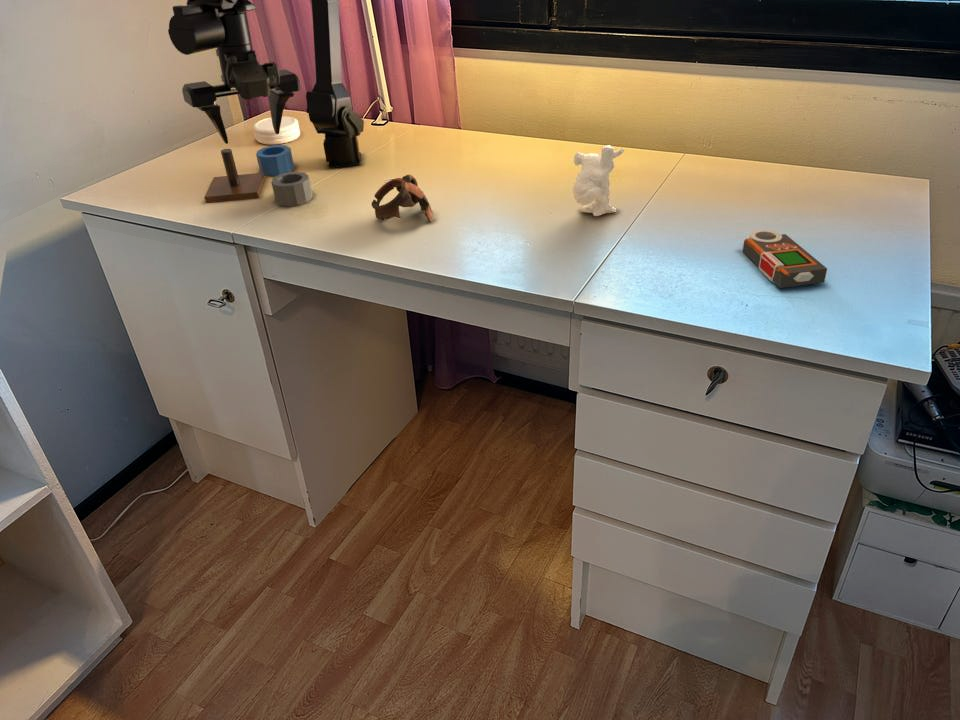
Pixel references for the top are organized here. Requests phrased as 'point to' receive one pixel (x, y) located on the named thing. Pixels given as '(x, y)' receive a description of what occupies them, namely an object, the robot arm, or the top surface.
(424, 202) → the brown looped band
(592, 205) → the koala figurine
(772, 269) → the electronic device
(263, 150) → the blue ring
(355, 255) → the top surface
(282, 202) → the grey thick polygonal ring
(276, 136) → the coaster
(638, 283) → the top surface
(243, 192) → the tape stand
